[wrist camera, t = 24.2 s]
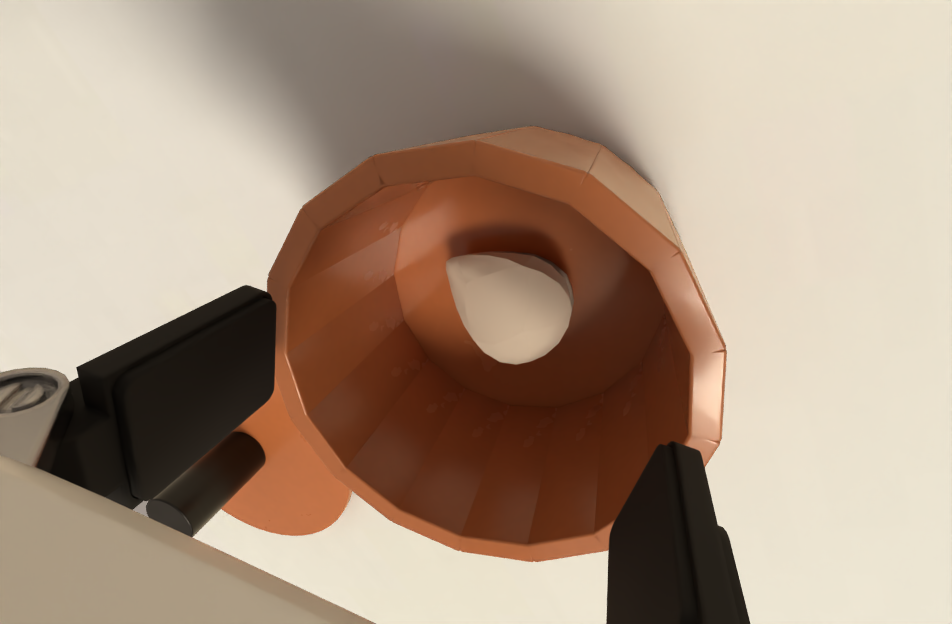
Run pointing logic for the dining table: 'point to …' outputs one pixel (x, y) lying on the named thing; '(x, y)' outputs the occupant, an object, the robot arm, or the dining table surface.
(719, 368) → the orange hollow cylinder
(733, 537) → the dining table surface
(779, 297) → the dining table surface
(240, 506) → the lid
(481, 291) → the macaroon
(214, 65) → the dining table surface
